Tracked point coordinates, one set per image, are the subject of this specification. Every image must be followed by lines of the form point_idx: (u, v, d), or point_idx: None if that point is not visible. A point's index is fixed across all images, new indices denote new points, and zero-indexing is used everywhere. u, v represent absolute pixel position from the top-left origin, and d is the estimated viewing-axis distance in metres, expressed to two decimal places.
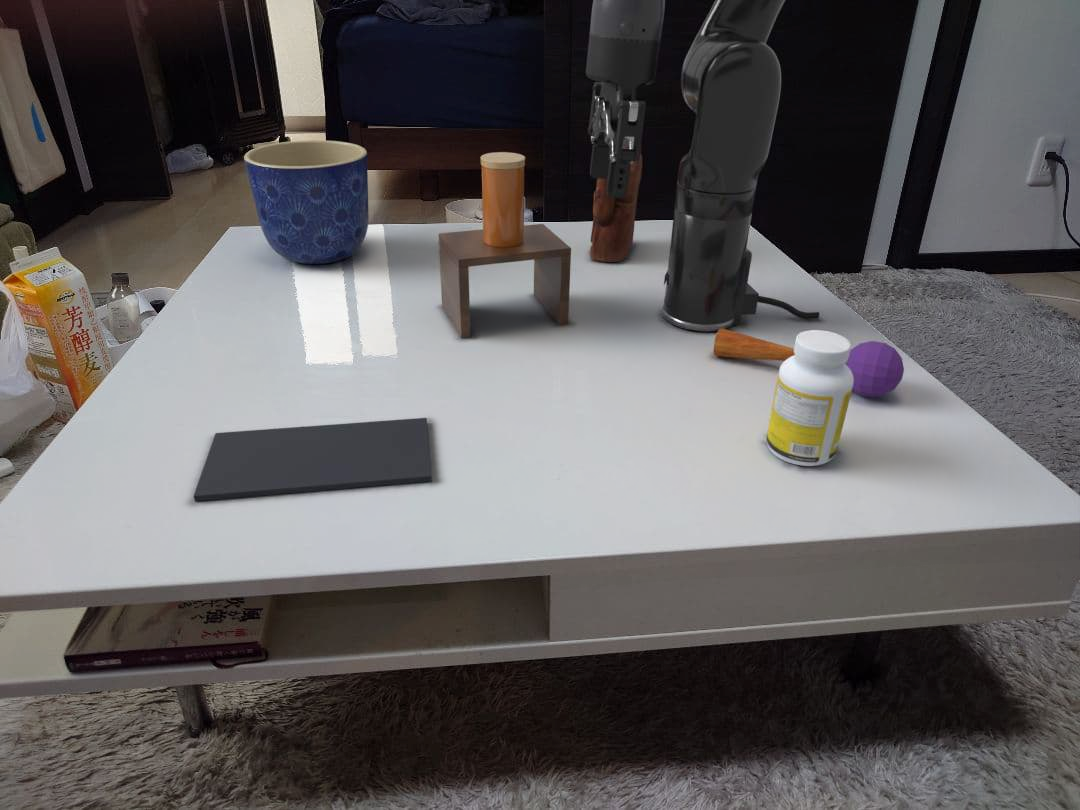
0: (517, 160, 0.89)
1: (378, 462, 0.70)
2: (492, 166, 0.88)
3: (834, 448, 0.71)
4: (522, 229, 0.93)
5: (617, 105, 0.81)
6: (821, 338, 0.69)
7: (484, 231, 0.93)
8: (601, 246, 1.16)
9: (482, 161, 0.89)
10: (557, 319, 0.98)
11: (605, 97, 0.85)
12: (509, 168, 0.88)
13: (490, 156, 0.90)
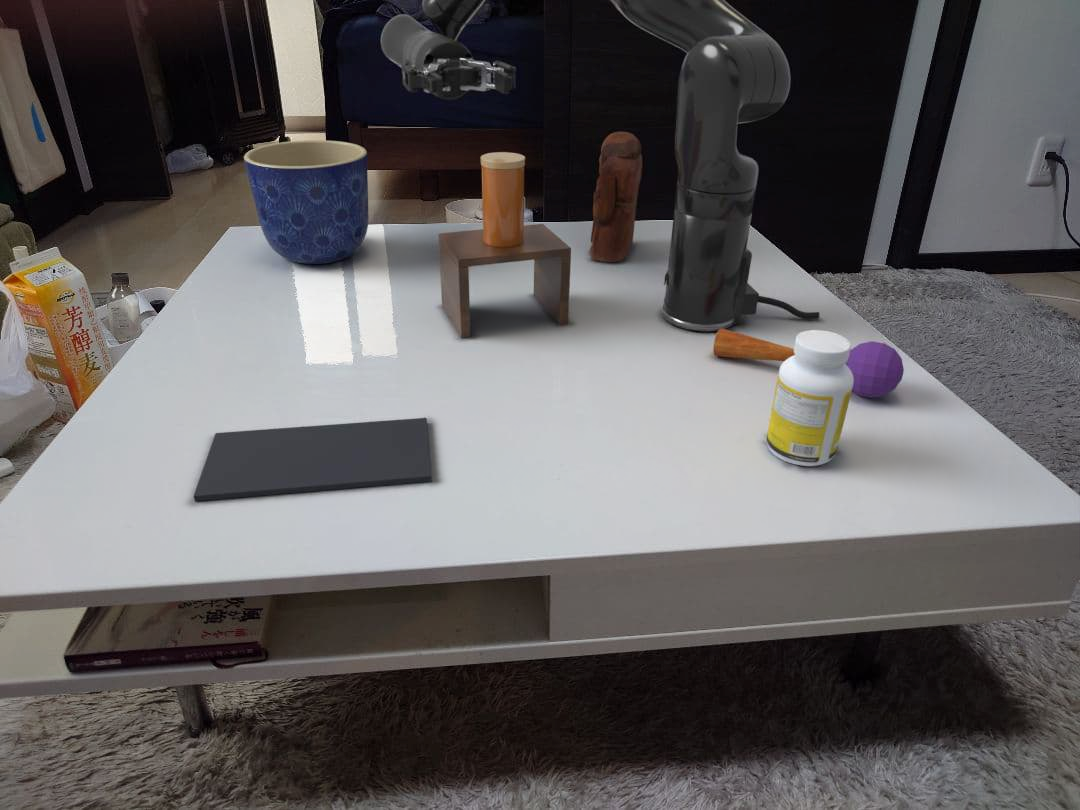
0: (517, 160, 0.89)
1: (378, 462, 0.70)
2: (492, 166, 0.88)
3: (834, 448, 0.71)
4: (522, 229, 0.93)
5: None
6: (821, 338, 0.69)
7: (484, 231, 0.93)
8: (601, 246, 1.16)
9: (482, 161, 0.89)
10: (557, 319, 0.98)
11: None
12: (509, 168, 0.88)
13: (490, 156, 0.90)
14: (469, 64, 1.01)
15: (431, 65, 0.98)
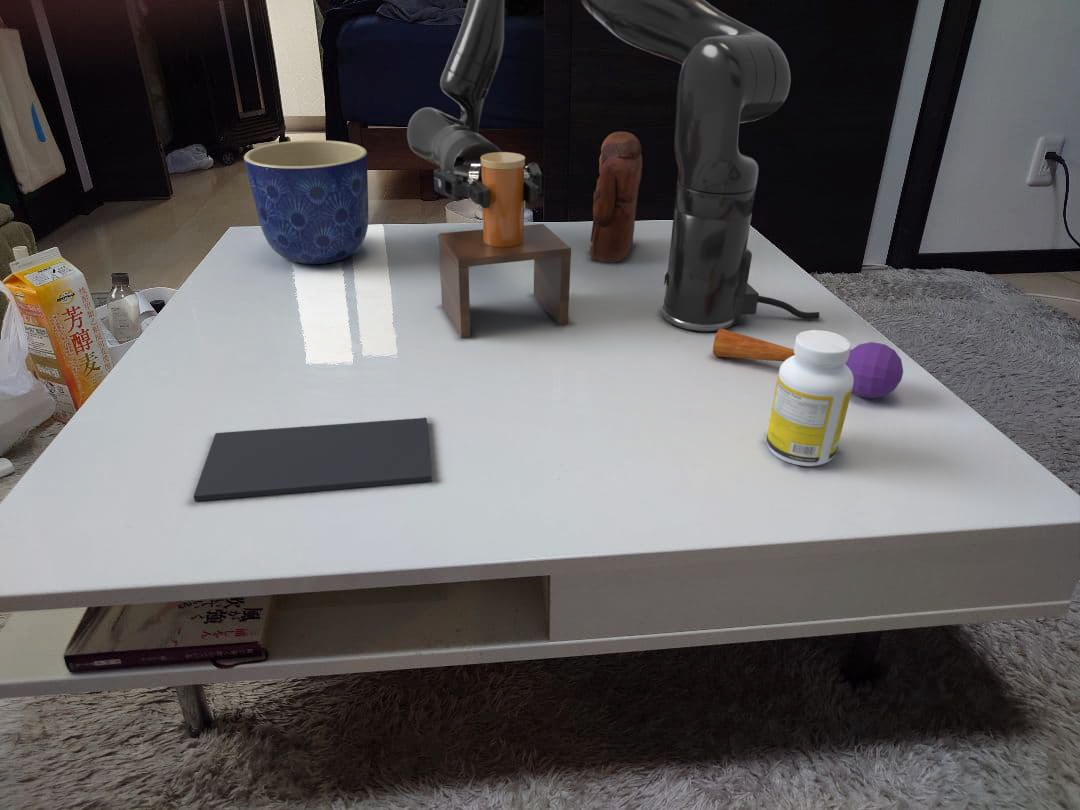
0: (517, 160, 0.89)
1: (378, 462, 0.70)
2: (492, 166, 0.88)
3: (834, 448, 0.71)
4: (522, 229, 0.93)
5: None
6: (821, 338, 0.69)
7: (484, 231, 0.93)
8: (601, 246, 1.16)
9: (482, 161, 0.89)
10: (557, 319, 0.98)
11: None
12: (509, 168, 0.88)
13: (490, 156, 0.90)
14: None
15: (471, 172, 0.93)
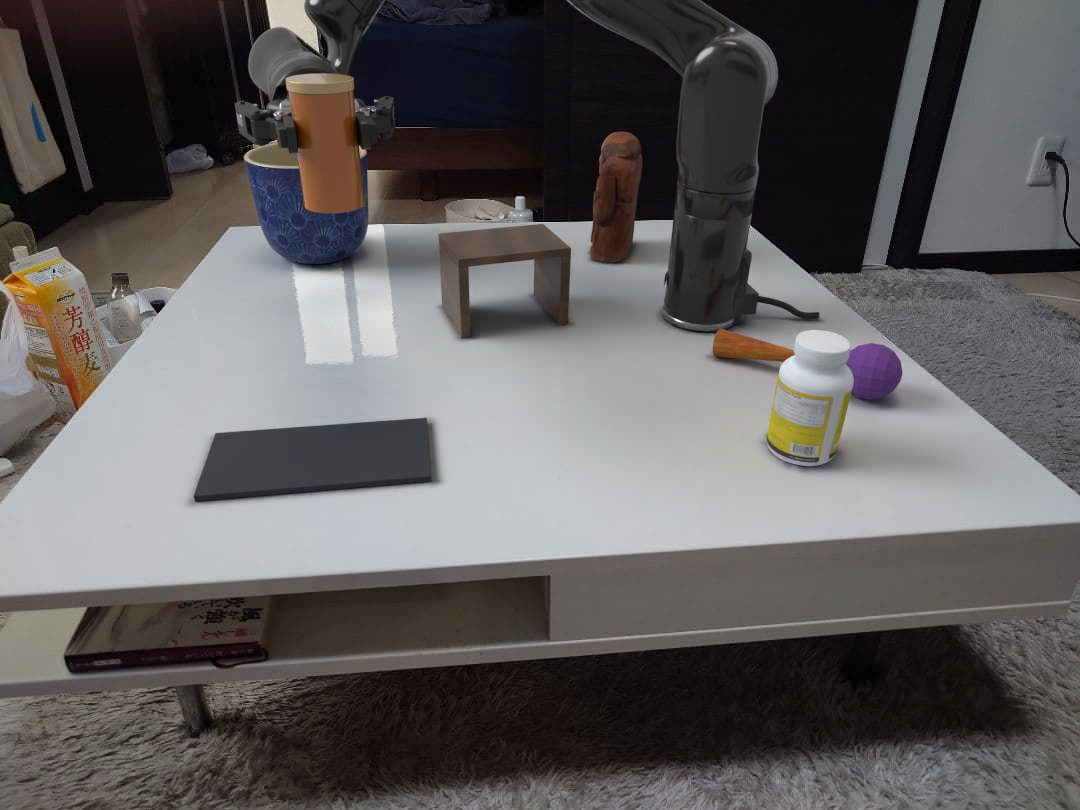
0: (337, 81, 0.59)
1: (378, 462, 0.70)
2: (298, 89, 0.59)
3: (834, 448, 0.71)
4: (358, 188, 0.64)
5: None
6: (821, 338, 0.69)
7: (302, 191, 0.64)
8: (601, 246, 1.16)
9: (286, 83, 0.60)
10: (557, 319, 0.98)
11: None
12: (324, 93, 0.59)
13: (302, 77, 0.61)
14: None
15: (284, 104, 0.64)
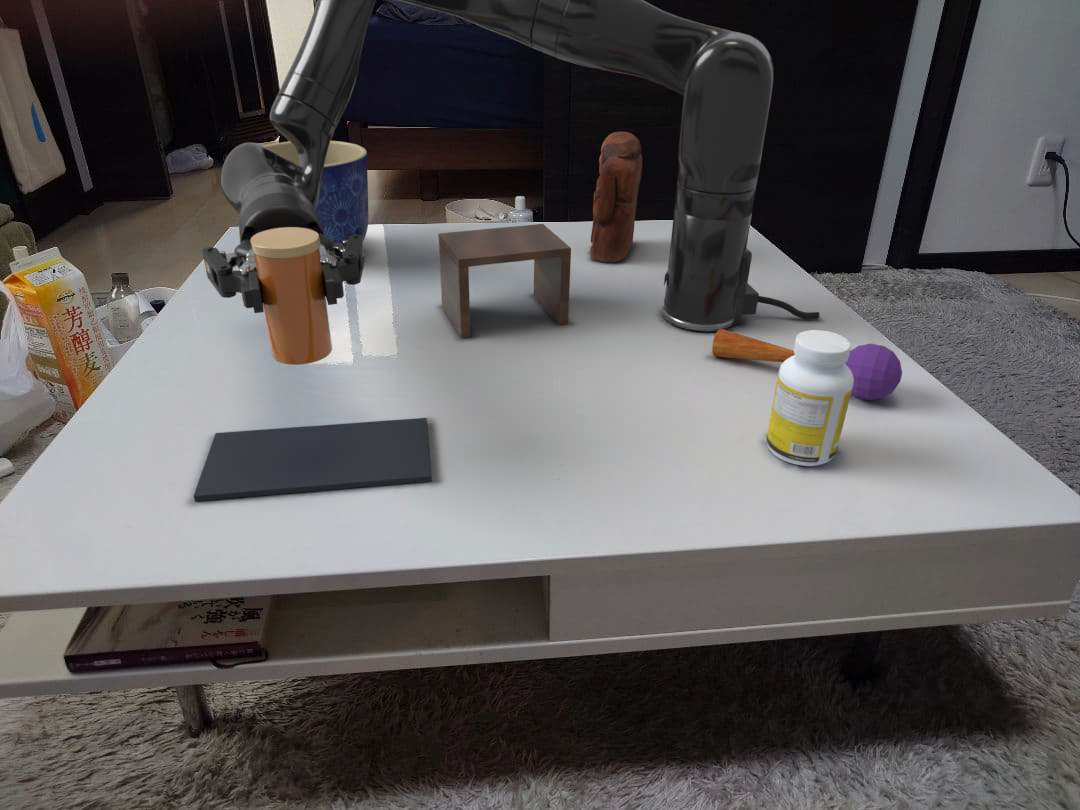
0: (302, 244, 0.59)
1: (378, 462, 0.70)
2: (262, 253, 0.59)
3: (834, 448, 0.71)
4: (325, 338, 0.64)
5: None
6: (821, 338, 0.69)
7: (269, 341, 0.64)
8: (601, 246, 1.16)
9: (251, 244, 0.60)
10: (557, 319, 0.98)
11: None
12: (288, 256, 0.59)
13: (267, 236, 0.61)
14: None
15: (250, 255, 0.64)
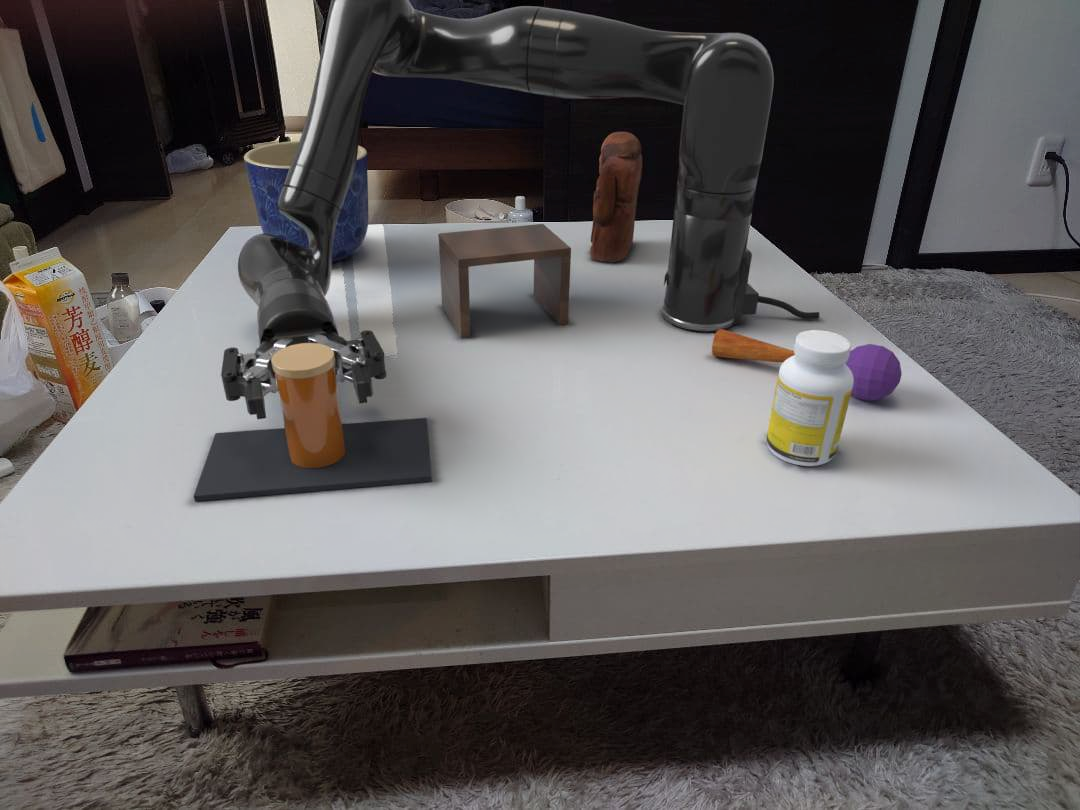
0: (318, 364, 0.65)
1: (378, 462, 0.70)
2: (283, 374, 0.64)
3: (834, 448, 0.71)
4: (339, 442, 0.70)
5: None
6: (821, 338, 0.69)
7: None
8: (601, 246, 1.16)
9: (272, 364, 0.65)
10: (557, 319, 0.98)
11: None
12: (306, 376, 0.64)
13: (286, 354, 0.66)
14: None
15: (259, 360, 0.69)
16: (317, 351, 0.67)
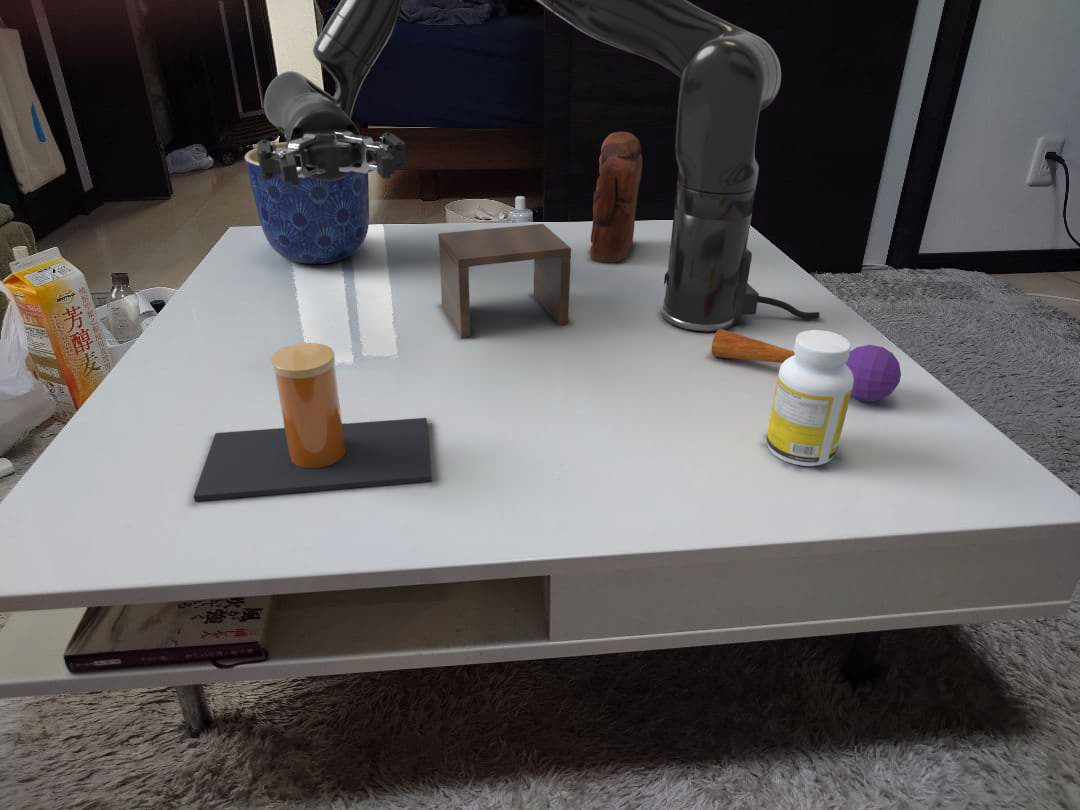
0: (318, 364, 0.65)
1: (378, 462, 0.70)
2: (283, 374, 0.64)
3: (834, 448, 0.71)
4: (339, 442, 0.70)
5: None
6: (821, 338, 0.69)
7: None
8: (601, 246, 1.16)
9: (272, 364, 0.65)
10: (557, 319, 0.98)
11: None
12: (306, 376, 0.64)
13: (286, 354, 0.66)
14: (346, 140, 0.78)
15: (291, 144, 0.75)
16: (317, 351, 0.67)
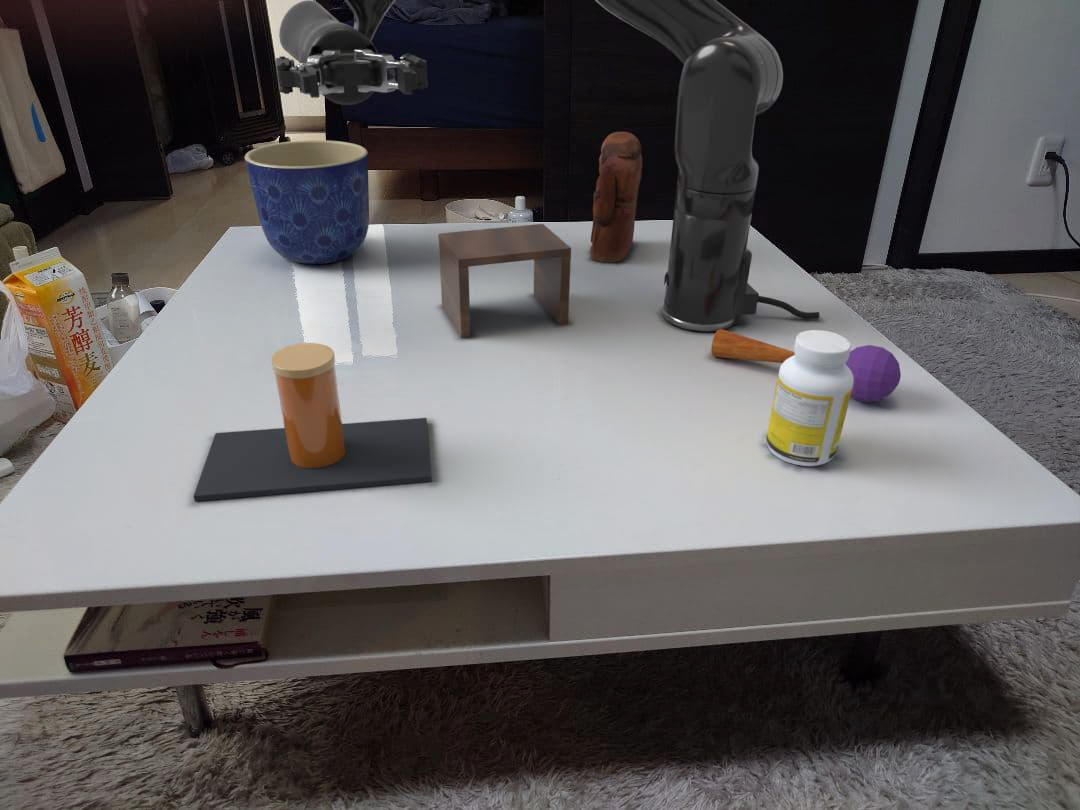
0: (318, 364, 0.65)
1: (378, 462, 0.70)
2: (283, 374, 0.64)
3: (834, 448, 0.71)
4: (339, 442, 0.70)
5: None
6: (821, 338, 0.69)
7: None
8: (601, 246, 1.16)
9: (272, 364, 0.65)
10: (557, 319, 0.98)
11: None
12: (306, 376, 0.64)
13: (286, 354, 0.66)
14: (366, 57, 0.77)
15: (311, 58, 0.74)
16: (317, 351, 0.67)
